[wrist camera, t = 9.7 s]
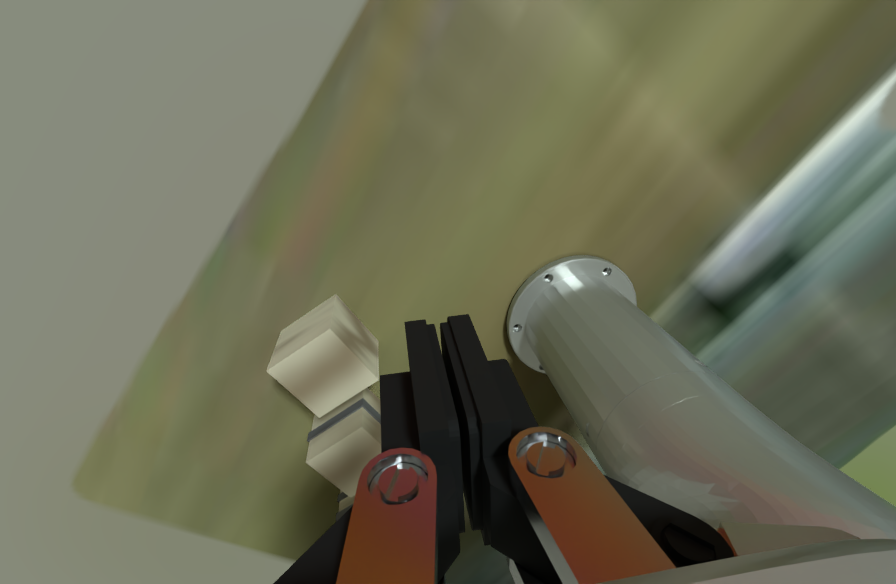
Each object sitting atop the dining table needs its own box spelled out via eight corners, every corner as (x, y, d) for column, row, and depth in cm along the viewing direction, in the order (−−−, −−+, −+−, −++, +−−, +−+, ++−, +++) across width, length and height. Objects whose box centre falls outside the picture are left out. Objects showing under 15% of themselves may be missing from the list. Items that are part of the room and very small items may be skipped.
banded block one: (402, 419, 44) (405, 465, 39) (353, 450, 45) (350, 499, 40) (363, 380, 42) (362, 425, 36) (312, 414, 42) (303, 462, 37)
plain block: (378, 340, 40) (379, 379, 35) (326, 374, 41) (319, 417, 35) (336, 293, 37) (329, 328, 32) (281, 330, 38) (266, 371, 33)
